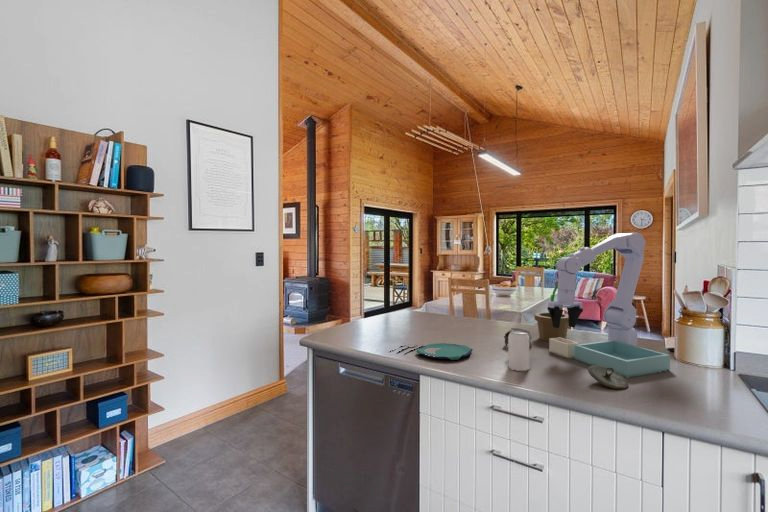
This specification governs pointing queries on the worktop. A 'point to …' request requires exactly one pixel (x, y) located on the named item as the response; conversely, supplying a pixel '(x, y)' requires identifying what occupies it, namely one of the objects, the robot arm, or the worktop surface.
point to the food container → (526, 331)
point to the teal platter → (446, 351)
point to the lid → (608, 377)
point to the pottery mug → (507, 338)
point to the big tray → (623, 358)
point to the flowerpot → (546, 323)
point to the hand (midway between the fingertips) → (563, 327)
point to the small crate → (562, 347)
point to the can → (518, 350)
